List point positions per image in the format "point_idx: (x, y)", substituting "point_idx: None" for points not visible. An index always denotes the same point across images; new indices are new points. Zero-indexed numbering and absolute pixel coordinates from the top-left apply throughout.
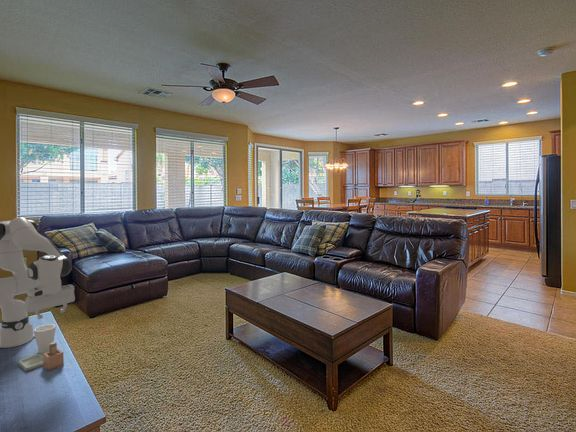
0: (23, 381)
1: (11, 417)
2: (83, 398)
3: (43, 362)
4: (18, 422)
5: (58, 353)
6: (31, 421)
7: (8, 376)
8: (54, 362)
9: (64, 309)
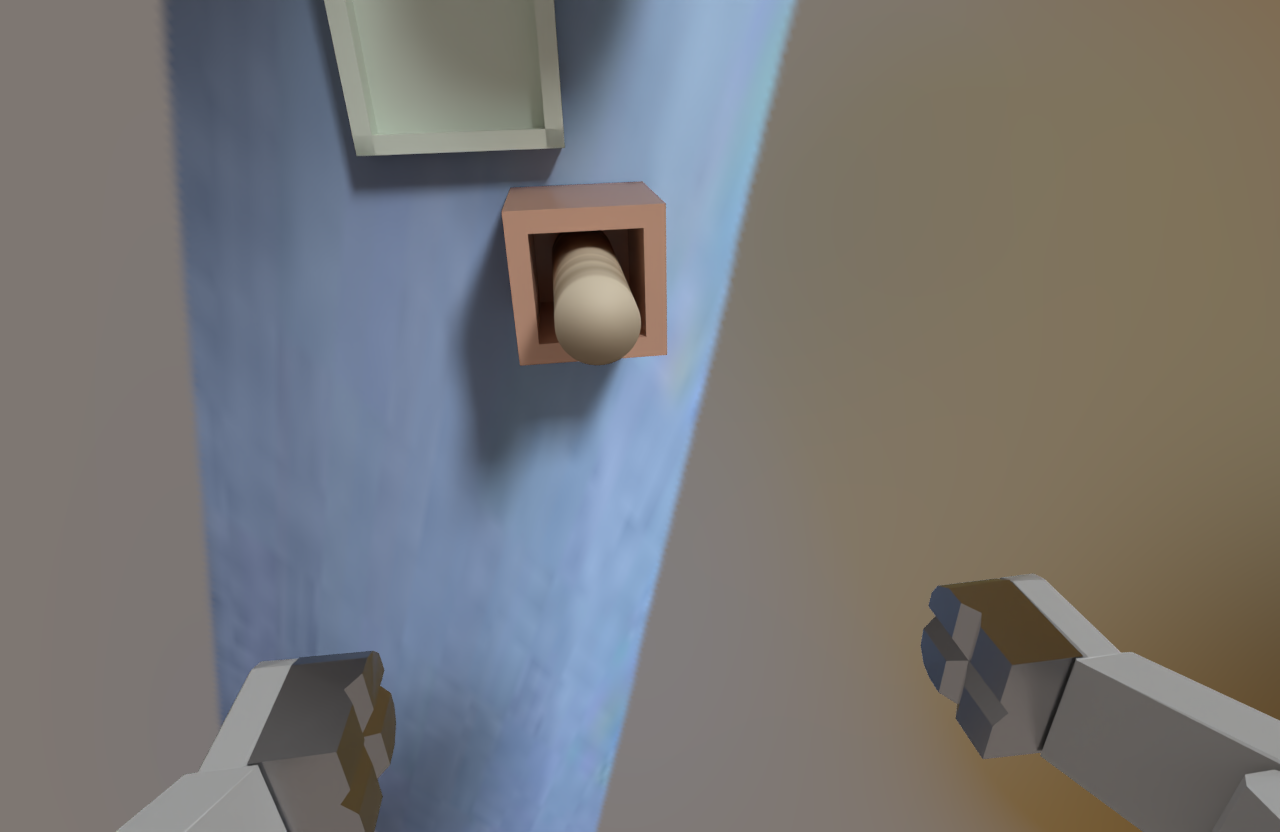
0: (329, 333)
1: None
2: (579, 759)
3: (508, 195)
4: None
5: None
6: None
7: (206, 106)
8: None
9: (1061, 734)
